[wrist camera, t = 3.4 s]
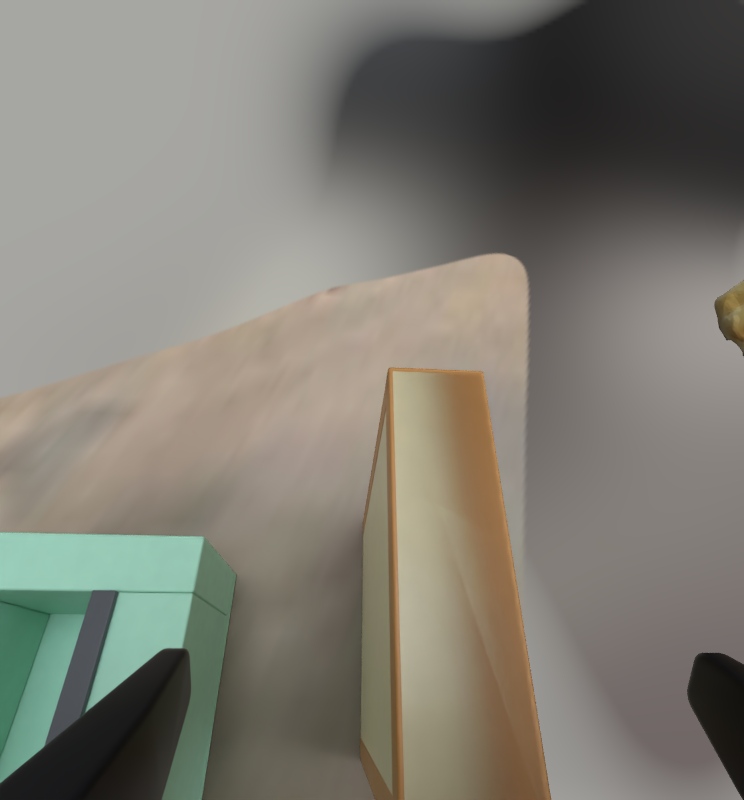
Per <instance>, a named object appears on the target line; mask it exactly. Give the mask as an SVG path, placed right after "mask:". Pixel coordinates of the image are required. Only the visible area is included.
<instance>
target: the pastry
mask: <svg viewBox="0 0 744 800" xmlns="http://www.w3.org/2000/svg"><path fill="white" fill-rule="evenodd" d="M715 310H716V314H717V317H718V324H719V328H720V330H721V332H722V333H723V335H724V337H725V338H726V340H732V341H733V342H735V343H736V344H737V345H738V346H739V347H740V349H741V350H742V352H743V356H744V280H743V281H742V282H740V283H739V284H737V285H736V286H734V287H733V288H732V289H730V290H729V291H728V292H726V293H725V294H724V295H722V296H720V297H718V298H717V299H716V301H715Z"/></svg>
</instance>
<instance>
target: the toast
mask: <svg viewBox="0 0 744 800" xmlns="http://www.w3.org/2000/svg"><path fill="white" fill-rule="evenodd" d="M360 759H361V762H362V765H363V767H364V770H365V773H366V776H367V778H368V781H369V784H370V786H371V789H372V792H373V795H374V797H375V800H551V796H550V790H549V784H548V777H547V771H546V764H545V758H544V752H543V746H542V739H541V733H540V727H539V721H538V714H537V708H536V702H535V695H534V689H533V684H532V677H531V670H530V664H529V658H528V651H527V645H526V639H525V633H524V626H523V620H522V614H521V608H520V601H519V595H518V589H517V582H516V576H515V570H514V564H513V557H512V551H511V545H510V538H509V532H508V526H507V520H506V513H505V507H504V501H503V495H502V488H501V482H500V476H499V469H498V463H497V457H496V451H495V444H494V438H493V432H492V426H491V419H490V413H489V407H488V400H487V394H486V388H485V382H484V375H483V372H481V371H460V370H437V369H413V368H389V369H388V374H387V380H386V386H385V393H384V399H383V405H382V411H381V417H380V423H379V429H378V435H377V441H376V447H375V453H374V459H373V465H372V471H371V477H370V483H369V489H368V495H367V501H366V507H365V513H364V519H363V597H362V680H361V739H360Z"/></svg>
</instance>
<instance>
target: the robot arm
mask: <svg viewBox="0 0 744 800" xmlns="http://www.w3.org/2000/svg"><path fill="white" fill-rule="evenodd" d="M687 692H688V693H687V694H688V700H689V703H690V705H691V707H692V709H693V711H694V713H695V715H696V716H697V718H698V720H699V722H700V724H701V725H702V727H703V729H704V731H705V732H706V734H707V736H708V738H709V740H710V742H711V744H712V745H713V747H714V749H715V751H716V753H717V754H718V756H719V758H720V760H721V762H722V763H723V765H724V767H725V769H726V771H727V772H728V774H729V776H730V778H731V779H732V781H733V783H734V785H735V787H736V789H737V790H738V792H739V794H740V796H741V797H742V799H743V800H744V664H742V663H740V662H738V661H736V660H734V659H733V658H731V657H729V656H727V655H725V654H721V653H700V654H698V655H697V656H696V657H695V660H694V664H693V668H692V672H691V676H690V680H689V685H688V689H687ZM190 697H191V671H190V654H189V651H188V650H187V649H185V648H165V649H162V650H161V651H159V652H158V653H157V654H156V655H154V656H153V657H152V658H151V659H149V660H148V661H147V662H146V663H145V664H143V665H142V666H141V667H140V668H139V669H137V670H136V671H135V672H134V673H133V674H131V675H130V676H129V677H128V678H127V679H125V680H124V681H123V682H122V683H120V684H119V685H118V686H117V687H116V688H114V689H113V690H112V691H111V692H110V693H108V694H107V695H106V696H105V697H104V698H102V699H101V700H100V701H99V702H98V703H96V704H95V705H94V706H93V707H91V708H90V709H89V710H88V711H87V712H85V713H84V714H83V715H82V716H81V717H79V718H78V719H77V720H76V721H75V722H73V723H72V724H71V725H70V726H68V727H67V728H66V729H65V730H64V731H62V732H61V733H60V734H59V735H58V736H56V737H55V738H54V739H53V740H52V741H50V742H49V743H48V744H47V745H46V746H44V747H43V748H42V749H41V750H39V751H38V752H37V753H36V754H35V755H33V756H32V757H31V758H30V759H29V760H27V761H26V762H25V763H24V764H23V765H21V766H20V767H19V768H18V769H17V770H15V771H14V772H13V773H12V774H10V775H9V776H8V777H7V778H6V779H4V780H3V781H2V782H1V783H0V800H162V797H163V794H164V790H165V787H166V783H167V780H168V776H169V773H170V769H171V766H172V762H173V759H174V755H175V752H176V748H177V745H178V741H179V738H180V734H181V731H182V727H183V724H184V720H185V717H186V713H187V710H188V706H189V702H190Z"/></svg>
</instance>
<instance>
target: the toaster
mask: <svg viewBox="0 0 744 800" xmlns="http://www.w3.org/2000/svg"><path fill="white" fill-rule="evenodd" d="M235 581H236V573H235V572H233V570H232V569H231V568H230V567H229V565H228V564H227V563H226V562H225V561H224V560H223V558H222V557H221V556H220V555H219V554H218V552H217V551H216V550H215V549H214V548H213V547H212V545H211V544H210V543H209V542H208V541H207V540H206V538H205V537H203V536H159V535H111V534H63V533H15V532H0V783H1V782H2V781H3V780H4V779H6V778H7V777H8V776H9V775H10V774H12V773H13V772H14V771H15V770H17V769H18V768H19V767H20V766H21V765H23V764H24V763H25V762H26V761H27V760H29V759H30V758H31V757H32V756H33V755H35V754H36V753H37V752H38V751H39V750H41V749H42V748H43V747H44V746H46V745H47V744H48V743H49V742H50V741H52V740H53V739H54V738H55V737H56V736H58V735H59V734H60V733H61V732H62V731H64V730H65V729H66V728H67V727H68V726H70V725H71V724H72V723H73V722H75V721H76V720H77V719H78V718H79V717H81V716H82V715H83V714H84V713H85V712H87V711H88V710H89V709H90V708H91V707H93V706H94V705H95V704H96V703H98V702H99V701H100V700H101V699H102V698H104V697H105V696H106V695H107V694H108V693H110V692H111V691H112V690H113V689H114V688H116V687H117V686H118V685H119V684H120V683H122V682H123V681H124V680H125V679H127V678H128V677H129V676H130V675H131V674H133V673H134V672H135V671H136V670H137V669H139V668H140V667H141V666H142V665H143V664H145V663H146V662H147V661H148V660H149V659H151V658H152V657H153V656H154V655H156V654H157V653H158V652H159V651H161V650H162V649H165V648H185V649H187V650H188V651H189V654H190V671H191V697H190V702H189V706H188V710H187V713H186V717H185V720H184V724H183V727H182V731H181V734H180V738H179V741H178V745H177V748H176V752H175V755H174V759H173V762H172V766H171V769H170V773H169V776H168V780H167V783H166V787H165V790H164V794H163V797H162V800H202V795H203V789H204V782H205V776H206V769H207V763H208V756H209V750H210V743H211V737H212V730H213V724H214V717H215V711H216V704H217V698H218V691H219V685H220V678H221V672H222V665H223V659H224V652H225V646H226V639H227V633H228V626H229V620H230V613H231V607H232V601H233V594H234V588H235Z"/></svg>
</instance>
